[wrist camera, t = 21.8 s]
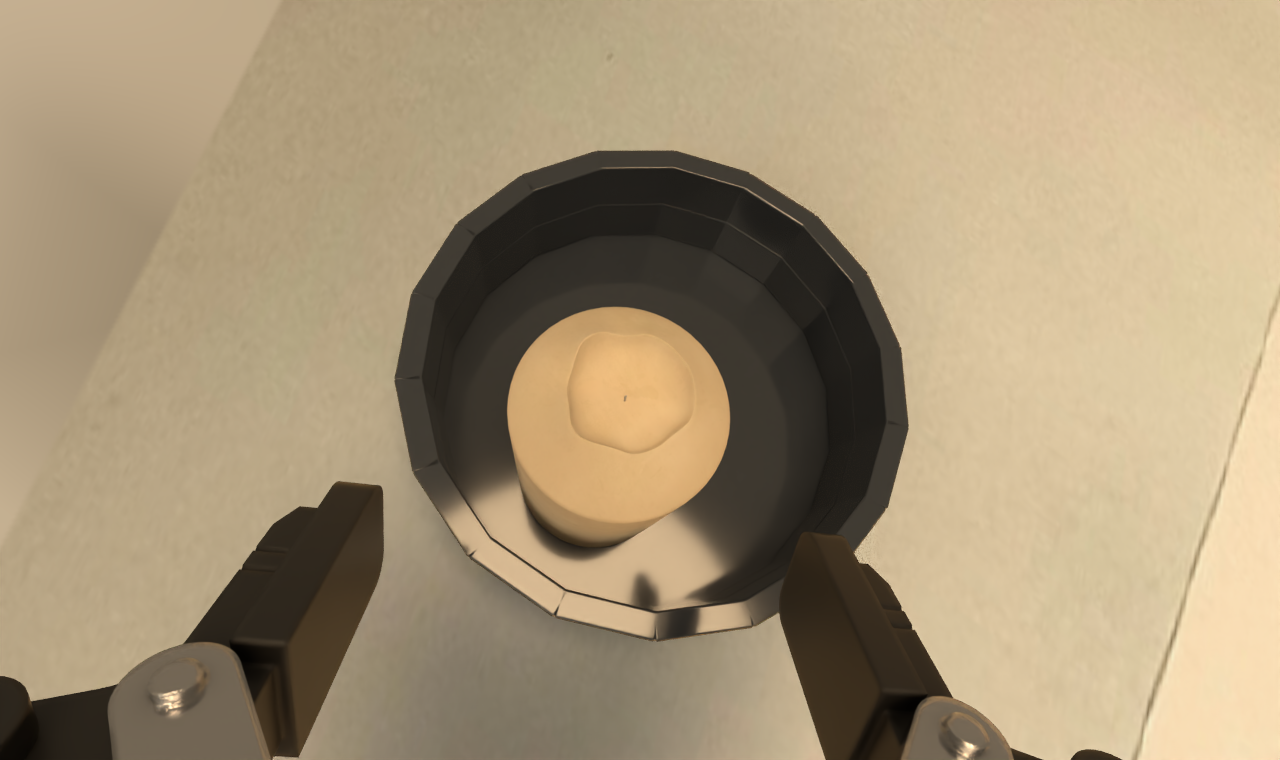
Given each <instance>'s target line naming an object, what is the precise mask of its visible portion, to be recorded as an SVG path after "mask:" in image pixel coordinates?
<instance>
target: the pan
mask: <svg viewBox="0 0 1280 760" xmlns="http://www.w3.org/2000/svg"><path fill="white" fill-rule="evenodd" d="M602 307H629V308H634V309H640V310H644V311H647V312H651V313H654V314H657V315H659V316H661V317H664V318H666V319H668V320H670V321H672V322H673V323H675V324H677V325H678V326H680V327H681V328H683V329H684V330H685V331H687V332H688V333H689V334H691V335H692V336H693V337H694V338H695V339H696V340H697V341H698V342H699V343H700V344H701V345H702V346H703V348H704V349H705V350H706V351H707V352H708V354H709V355H710V357H711V358H712V360H713V361H714V363H715V364H716V366H717V368H718V370H719V372H720V374H721V377H722V379H723V382H724V385H725V388H726V391H727V395H728V401H729V408H730V428H729V436H728V440H727V445H726V448H725V451H724V454H723V457H722V460H721V461H720V463H719V465H718V467H717V469H716V471H715V473H714V474H713V476H712V477H711V478H710V480H709V481H708V483H707V484H706V485H705V486H704V487H703V488H702V489H701V490H700V491H699V492H698V493H697V494H696V495H695V496H694V497H693V498H691V499H690V500H689V501H688V502H686V503H685V504H684V505H682V506H681V507H679V508H677V509H676V510H674V511H673V512H671V513H670V514H668V515H667V516H665V517H664V518H662V519H660V520H659V521H657V522H656V523H654V524H653V525H651V526H650V527H648V528H647V529H645V530H643V531H642V532H640V533H639V534H637V535H635V536H634V537H632V538H630V539H628V540H625V541H623V542H621V543H618V544H615V545H611V546H605V547H583V546H578V545H574V544H570V543H568V542H565V541H563V540H561V539H559V538H557V537H556V536H554V535H552V534H551V533H550V532H548V531H547V530H546V529H545V528H543V527H542V526H541V524H540V523H539V522H538V521H537V520H536V519H535V517H534V516H533V515H532V513H531V512H530V510H529V508H528V506H527V504H526V502H525V499H524V497H523V494H522V491H521V487H520V482H519V477H518V473H517V468H516V463H515V458H514V453H513V448H512V443H511V438H510V433H509V428H508V417H507V405H508V395H509V390H510V385H511V382H512V379H513V376H514V373H515V370H516V368H517V366H518V365H519V363H520V361H521V359H522V357H523V356H524V354H525V353H526V351H527V350H528V349H529V347H530V346H531V345H532V344H533V343H534V342H535V340H536V339H537V338H538V337H539V336H540V335H541V334H543V333H544V332H545V331H546V330H548V329H549V328H550V327H552V326H553V325H555V324H556V323H558V322H559V321H561V320H563V319H565V318H567V317H569V316H572V315H574V314H577V313H580V312H583V311H586V310H591V309H596V308H602ZM395 386H396V391H397V396H398V401H399V406H400V411H401V416H402V421H403V426H404V431H405V436H406V442H407V447H408V452H409V457H410V462H411V467H412V471H413V473H414V476H415V477H416V479H417V480H418V482H419V483H420V485H421V486H422V488H423V489H424V491H425V492H426V494H427V495H428V497H429V498H430V500H431V501H432V503H433V504H434V506H435V508H436V509H437V511H438V512H439V514H440V515H441V517H442V518H443V520H444V521H445V523H446V524H447V526H448V527H449V529H450V530H451V532H452V533H453V535H454V537H455V538H456V540H457V541H458V543H459V544H460V546H461V547H462V549H463V550H464V552H465V553H466V555H467V556H468V557H470V559H471V560H473V561H474V562H476V563H477V564H478V565H480V566H481V567H483V568H484V569H486V570H487V571H488V572H490V573H491V574H493V575H494V576H495V577H497V578H498V579H500V580H501V581H503V582H504V583H505V584H507V585H508V586H510V587H511V588H513V589H514V590H515V591H517V592H518V593H520V594H521V595H522V596H524V597H525V598H527V599H528V600H530V601H531V602H532V603H534V604H535V605H537V606H538V607H539V608H541V609H542V610H544V611H545V612H547V613H548V614H549V615H551V616H555V617H556V618H558V619H562V620H566V621H570V622H574V623H579V624H583V625H587V626H591V627H595V628H599V629H603V630H608V631H612V632H616V633H620V634H624V635H628V636H632V637H636V638H641V639H645V640H649V641H657V642H658V641H665V640H672V639H679V638H686V637H692V636H699V635H706V634H713V633H720V632H727V631H733V630H740V629H747V628H752V627H753V626H757V625H759V624H761V623H762V622H764V621H766V620H767V619H769V618H771V617H772V616H774V615H776V614H777V613H779V598H780V592H781V588H782V585H783V582H784V579H785V576H786V574H787V571H788V568H789V565H790V562H791V559H792V556H793V554H794V551H795V548H796V545H797V542H798V539H799V537H800V535H801V534H802V533H803V532H806V531H807V532H816V533H826V534H835V535H842V536H844V537H845V538H846V540H847V541H848V543H849V545H850V547H851V549H852V551H853V552H855V551H856V549H857V548H858V547H859V545H860V544H861V543H862V541H863V540H864V539H865V537H866V536H867V535H868V533H869V532H870V531H871V529H872V528H873V527H874V525H875V524H876V523H877V521H878V520H879V518H880V517H881V516H882V514H883V513H884V512H885V509H886V508H888V504H889V501H890V497H891V493H892V489H893V485H894V482H895V478H896V474H897V470H898V467H899V463H900V459H901V455H902V451H903V448H904V444H905V440H906V436H907V433H908V426H909V425H908V415H907V404H906V394H905V384H904V373H903V363H902V353H901V347H900V345H899V342H898V340H897V338H896V336H895V333H894V331H893V329H892V327H891V324H890V322H889V320H888V318H887V316H886V313H885V311H884V309H883V307H882V304H881V302H880V300H879V298H878V295H877V293H876V291H875V289H874V286H873V284H872V282H871V280H870V278H869V276H868V275H867V272H866V271H865V270H864V269H863V268H862V266H861V265H860V264H859V263H858V262H857V261H856V260H855V258H854V257H853V256H852V255H851V254H850V253H849V252H848V250H847V249H846V248H845V247H844V246H843V245H842V244H841V242H840V241H839V240H838V239H837V238H836V237H835V236H834V235H833V233H832V232H831V231H830V230H829V229H828V228H827V227H826V225H825V224H824V223H823V222H822V221H821V220H820V219H819V217H818V216H815V215H814V213H812V212H810V211H809V210H807V209H806V208H804V207H802V206H801V205H799V204H798V203H796V202H795V201H793V200H791V199H790V198H788V197H787V196H785V195H784V194H782V193H780V192H779V191H777V190H776V189H774V188H773V187H771V186H769V185H768V184H766V183H765V182H763V181H762V180H760V179H758V178H757V177H755V176H754V175H752V174H750V173H749V172H746V171H743V170H740V169H736V168H733V167H729V166H726V165H722V164H719V163H716V162H712V161H709V160H705V159H702V158H699V157H695V156H692V155H688V154H685V153H682V152H678V151H597V152H596V151H595V152H591V153H588V154H585V155H582V156H579V157H576V158H573V159H569V160H566V161H563V162H560V163H557V164H554V165H551V166H547V167H544V168H541V169H538V170H535V171H532V172H529V173H525V174H523V175H522V176H519V177H518V178H516V179H515V180H514V181H512V182H511V183H510V184H508V185H507V186H506V187H504V188H503V189H502V190H500V191H499V192H498V193H496V194H495V195H494V196H492V197H491V198H489V199H488V200H487V201H485V202H484V203H483V204H481V205H480V206H479V207H477V208H476V209H475V210H473V211H472V212H471V213H469V214H468V215H467V216H465V217H464V218H463V219H461V220H460V221H459V222H458V223H457V224H456V225H455V226H454V228H453V230H452V231H451V233H450V234H449V236H448V237H447V239H446V240H445V242H444V243H443V245H442V247H441V248H440V250H439V251H438V253H437V254H436V256H435V257H434V259H433V261H432V262H431V264H430V265H429V267H428V268H427V270H426V271H425V273H424V275H423V276H422V278H421V279H420V281H419V282H418V284H417V285H416V287H415V288H414V290H413V292H412V294H411V297H410V302H409V308H408V313H407V318H406V323H405V328H404V333H403V338H402V343H401V349H400V354H399V359H398V364H397V369H396V374H395Z"/></svg>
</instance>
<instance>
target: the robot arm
mask: <svg viewBox="0 0 1280 760" xmlns="http://www.w3.org/2000/svg"><path fill="white" fill-rule="evenodd" d="M383 553H384V535H383V490H382V487H381V486H378V485H369V484H359V483H350V482H340V481H338V482H336V483H335V484H334V485H333V486H332V487H331V489H330V490H329V492H328V493H327V495H326V496H325V498H324V499H323V501H322V502H321V504H320V505H319V507H318V508H311V507H301V506H300V507H298V508H297V509H295V510H294V511H292V512H291V513H289V514H288V515H286V516H285V517H283V518H282V519H280V520H279V521H277V522H276V523H274V524H273V525H272V526H271V528H270V529H269V530H268V532H267V533H266V534H265V536H264V537H263V538H262V540H261V541H260V542H259V544H258V545H257V548H256V551H253V552H252V553H251V554H250V556H249V557H248V558H247V560H246V561H245V563H244V564H243V567H242V570H239V571H238V572H237V573H236V575H235V576H234V577H233V579H232V580H231V581H230V583H229V584H228V585H227V587H226V588H225V589H224V591H223V592H222V593H221V595H220V596H219V597H218V599H217V600H216V601H215V603H214V604H213V605H212V607H211V608H210V609H209V611H208V612H207V613H206V615H205V616H204V617H203V619H202V620H201V621H200V623H199V624H198V625H197V627H196V628H195V629H194V631H193V632H192V633H191V635H190V636H189V637H188V639H187V640H186V641H185V642H184V644H183V645H179V646H175V647H172V648H169V649H167V650H164V651H162V652H159V653H157V654H155V655H153V656H151V657H149V658H148V659H146V660H145V661H143V662H142V663H140V664H138V665H137V666H136V667H135V668H133V669H132V670H131V671H130V672H129V673H128V674H127V675H126V676H125V677H124V678H123V679H122V680H121V681H120V682H119V684H117V685H113V686H110V687H105V688H101V689H96V690H91V691H85V692H80V693H75V694H69V695H64V696H58V697H53V698H48V699H42V700H37V701H30V698H29V695H28V693H27V690H26V688H25V687H24V686H23V685H22V684H21V683H20V682H18V681H17V680H15V679H12V678H8V677H5V676H0V760H272V759H273V757H274V756H284V757H299V755H300V753H301V751H302V749H303V747H304V744H305V742H306V740H307V738H308V736H309V733H310V731H311V729H312V727H313V724H314V722H315V720H316V718H317V716H318V713H319V711H320V709H321V707H322V705H323V702H324V700H325V698H326V696H327V694H328V691H329V689H330V687H331V685H332V682H333V680H334V678H335V676H336V674H337V671H338V669H339V667H340V665H341V663H342V660H343V658H344V656H345V654H346V652H347V649H348V647H349V645H350V643H351V640H352V638H353V636H354V634H355V632H356V629H357V627H358V625H359V623H360V621H361V618H362V616H363V614H364V612H365V610H366V607H367V605H368V603H369V601H370V598H371V596H372V594H373V592H374V590H375V587H376V585H377V582H378V579H379V576H380V572H381V567H382V562H383ZM779 614H780V620H781V624H782V627H783V630H784V633H785V636H786V639H787V642H788V646H789V649H790V652H791V655H792V658H793V661H794V664H795V667H796V670H797V673H798V676H799V679H800V682H801V685H802V689H803V692H804V695H805V698H806V701H807V704H808V707H809V710H810V713H811V716H812V719H813V722H814V725H815V728H816V732H817V735H818V738H819V741H820V744H821V747H822V750H823V753H824V756H825V759H826V760H1042V759H1039V758H1036V757H1034V756H1031V755H1028V754H1025V753H1023V752H1020V751H1017V750H1015V749H1012V748H1010V746H1009V745H1008V743H1007V741H1006V739H1005V738H1004V736H1003V735H1002V734H1001V732H1000V731H999V730H998V729H997V727H996V726H995V725H994V724H993V723H992V722H991V721H990V720H989V719H987V718H986V717H985V716H984V715H983V714H981V713H980V712H979V711H977V710H976V709H974V708H973V707H971V706H969V705H967V704H965V703H963V702H961V701H959V700H956V699H953V697H952V695H951V693H950V692H949V690H948V688H947V686H946V685H945V683H944V681H943V679H942V677H941V676H940V674H939V672H938V670H937V669H936V667H935V665H934V663H933V661H932V660H931V658H930V656H929V654H928V653H927V651H926V649H925V647H924V646H923V644H922V642H921V640H920V638H919V637H918V635H917V633H916V631H915V630H912V624H911V623H910V621H909V619H908V617H907V615H906V614H905V612H904V611H902V610H901V605H900V603H899V601H898V600H897V598H896V596H895V594H894V592H893V591H892V589H891V587H890V585H889V584H888V583H887V582H886V581H885V580H884V579H883V578H882V577H881V576H880V575H879V574H878V573H877V572H876V571H875V570H874V569H873V568H872V567H871V566H869V565H868V564H861V563H859V562H858V560H857V558H856V556H855V554H854V552H853V551H852V549H851V547H850V545H849V543H848V541H847V540H846V538H845V537H844V536H842V535H835V534H826V533H816V532H807V531H806V532H803V533H802V534H801V535H800V537H799V539H798V542H797V545H796V548H795V551H794V554H793V556H792V559H791V562H790V565H789V568H788V571H787V574H786V576H785V579H784V582H783V585H782V588H781V592H780V598H779ZM1071 760H1121V759H1120V758H1118V757H1115V756H1113V755H1111V754H1108V753H1105V752H1102V751H1098V750H1088V749H1086V750H1081V751H1079V752H1077V753H1076V754H1075V755H1074V756H1073V757H1072V758H1071Z"/></svg>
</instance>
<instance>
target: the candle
mask: <svg viewBox="0 0 1280 760" xmlns="http://www.w3.org/2000/svg"><path fill="white" fill-rule="evenodd" d="M507 417H508V428H509V433H510V438H511V443H512V448H513V453H514V458H515V463H516V468H517V473H518V477H519V482H520V487H521V491H522V494H523V497H524V499H525V502H526V504H527V506H528V508H529V510H530V512H531V513H532V515H533V516H534V517H535V519H536V520H537V521H538V522H539V523H540V524H541V526H542V527H543V528H545V529H546V530H547V531H548V532H550V533H551V534H552V535H554V536H556V537H557V538H559V539H561V540H563V541H565V542H568V543H570V544H574V545H578V546H583V547H605V546H611V545H615V544H618V543H621V542H623V541H625V540H628V539H630V538H632V537H634V536H635V535H637V534H639V533H640V532H642V531H643V530H645V529H647V528H648V527H650V526H651V525H653V524H654V523H656V522H657V521H659V520H660V519H662V518H664V517H665V516H667V515H668V514H670V513H671V512H673V511H674V510H676V509H677V508H679V507H681V506H682V505H684V504H685V503H686V502H688V501H689V500H690V499H691V498H693V497H694V496H695V495H696V494H697V493H698V492H699V491H700V490H701V489H702V488H703V487H704V486H705V485H706V484H707V483H708V481H709V480H710V478H711V477H712V476H713V474H714V473H715V471H716V469H717V467H718V465H719V463H720V461H721V460H722V457H723V454H724V451H725V448H726V445H727V440H728V436H729V428H730V408H729V401H728V395H727V391H726V388H725V385H724V382H723V379H722V377H721V374H720V372H719V370H718V368H717V366H716V364H715V363H714V361H713V360H712V358H711V357H710V355H709V354H708V352H707V351H706V350H705V349H704V348H703V346H702V345H701V344H700V343H699V342H698V341H697V340H696V339H695V338H694V337H693V336H692V335H691V334H689V333H688V332H687V331H685V330H684V329H683V328H681V327H680V326H678V325H677V324H675V323H673V322H672V321H670V320H668V319H666V318H664V317H661V316H659V315H657V314H654V313H651V312H647V311H644V310H640V309H634V308H629V307H602V308H596V309H591V310H586V311H583V312H580V313H577V314H574V315H572V316H569V317H567V318H565V319H563V320H561V321H559V322H558V323H556V324H555V325H553V326H552V327H550V328H549V329H548V330H546V331H545V332H544V333H543V334H541V335H540V336H539V337H538V338H537V339H536V340H535V342H534V343H533V344H532V345H531V346H530V347H529V349H528V350H527V351H526V353H525V354H524V356H523V357H522V359H521V361H520V363H519V365H518V366H517V368H516V370H515V373H514V376H513V379H512V382H511V385H510V390H509V395H508V405H507Z"/></svg>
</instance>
